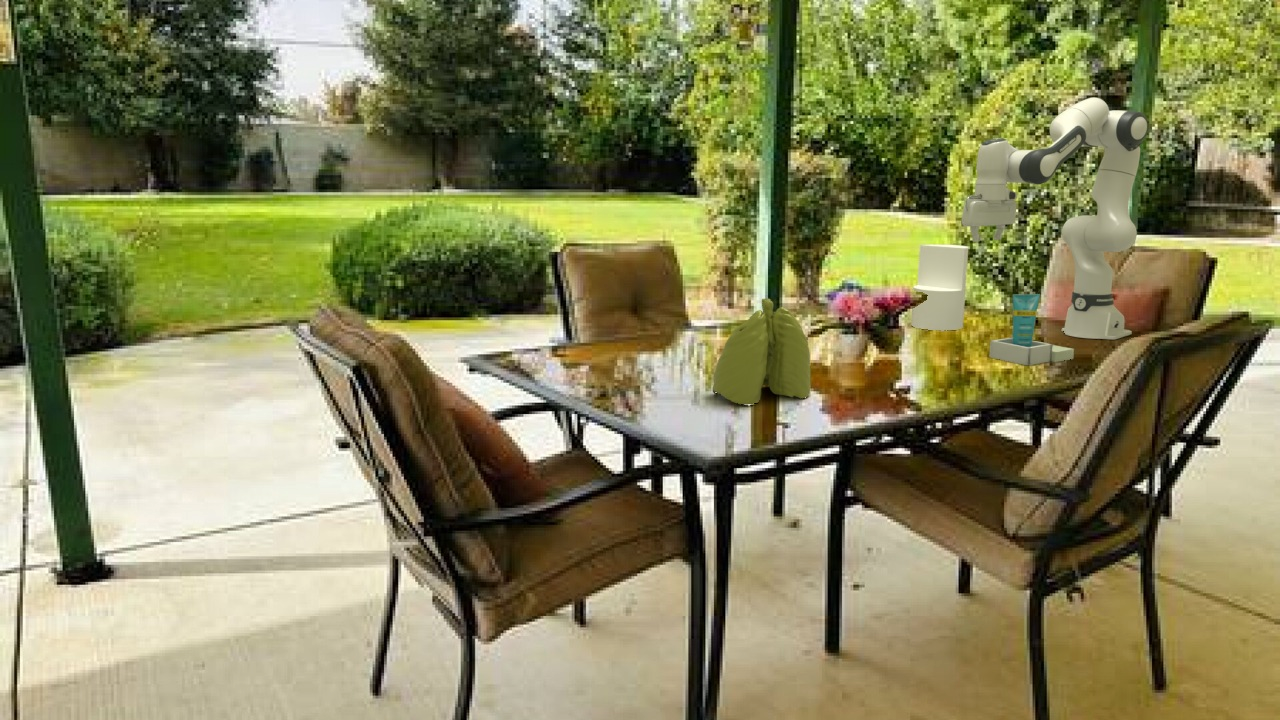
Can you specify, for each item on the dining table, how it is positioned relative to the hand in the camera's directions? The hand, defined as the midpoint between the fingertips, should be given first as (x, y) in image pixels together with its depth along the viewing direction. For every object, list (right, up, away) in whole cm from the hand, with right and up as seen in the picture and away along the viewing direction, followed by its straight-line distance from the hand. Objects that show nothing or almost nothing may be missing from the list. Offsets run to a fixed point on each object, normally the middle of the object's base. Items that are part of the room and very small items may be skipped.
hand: (986, 240), depth 274 cm
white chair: (-1, -25, +43) cm, 49 cm away
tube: (+6, -36, -10) cm, 38 cm away
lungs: (-75, -46, -49) cm, 100 cm away
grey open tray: (+9, -36, -8) cm, 38 cm away
